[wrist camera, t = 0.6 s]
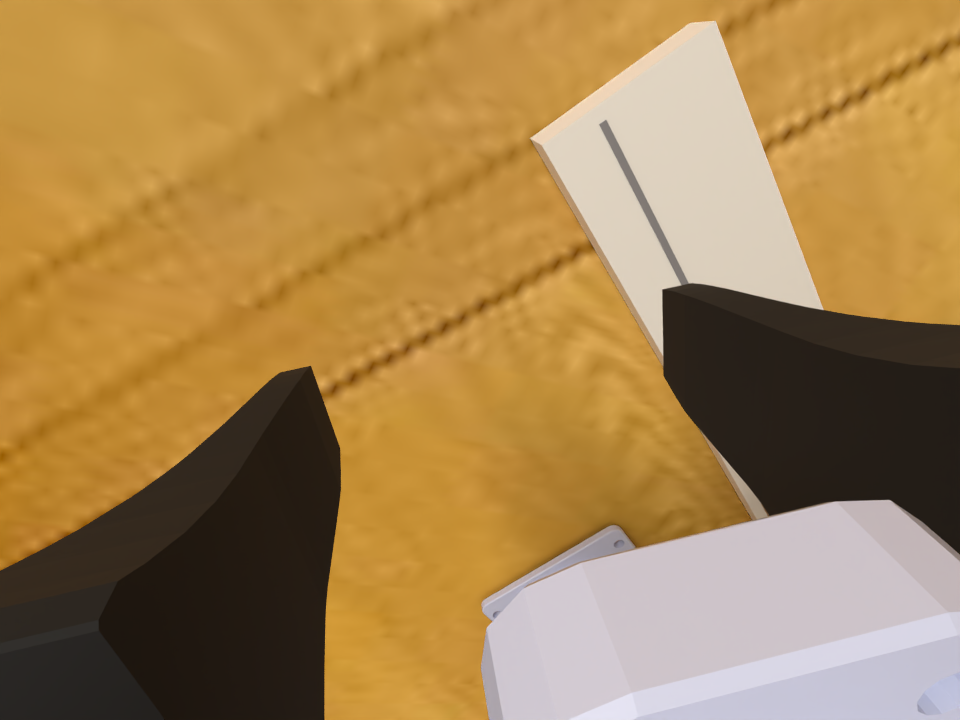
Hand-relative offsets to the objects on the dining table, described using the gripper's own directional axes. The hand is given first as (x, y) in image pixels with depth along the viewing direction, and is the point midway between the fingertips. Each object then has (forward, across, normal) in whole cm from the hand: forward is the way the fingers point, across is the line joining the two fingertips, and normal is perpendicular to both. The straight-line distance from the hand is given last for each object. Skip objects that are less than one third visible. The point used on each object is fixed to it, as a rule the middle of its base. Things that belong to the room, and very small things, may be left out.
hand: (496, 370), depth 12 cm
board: (+10, -10, +6) cm, 16 cm away
